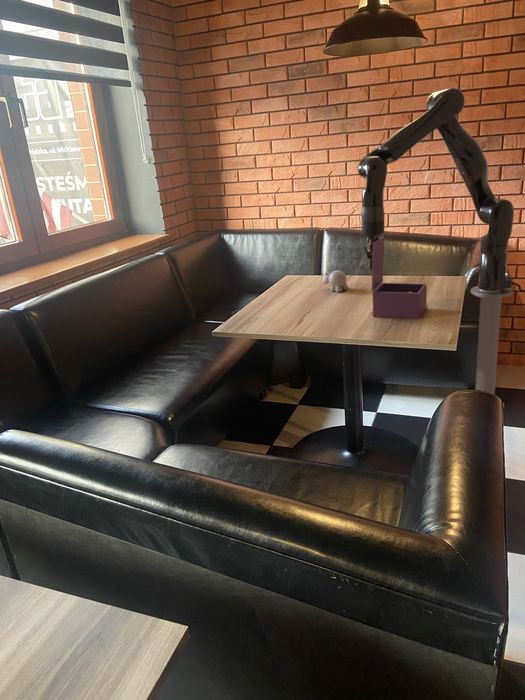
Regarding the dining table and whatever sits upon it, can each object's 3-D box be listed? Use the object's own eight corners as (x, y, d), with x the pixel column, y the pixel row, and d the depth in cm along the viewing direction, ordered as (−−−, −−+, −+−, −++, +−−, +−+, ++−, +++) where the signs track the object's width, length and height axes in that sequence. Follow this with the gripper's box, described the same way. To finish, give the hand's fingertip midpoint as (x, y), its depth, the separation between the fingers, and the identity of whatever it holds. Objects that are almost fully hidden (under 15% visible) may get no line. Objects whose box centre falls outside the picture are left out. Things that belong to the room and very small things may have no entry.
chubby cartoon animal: (330, 286, 229) (329, 266, 226) (350, 289, 220) (349, 269, 217) (318, 289, 225) (316, 270, 222) (338, 294, 216) (337, 273, 213)
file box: (426, 308, 188) (426, 283, 185) (419, 319, 178) (419, 293, 175) (382, 306, 195) (382, 282, 192) (373, 316, 185) (372, 292, 182)
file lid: (384, 235, 186) (382, 235, 186) (374, 242, 175) (372, 242, 176) (382, 281, 192) (381, 281, 192) (373, 291, 182) (371, 291, 182)
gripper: (378, 222, 172) (379, 274, 178) (388, 216, 183) (389, 265, 189) (356, 222, 176) (357, 274, 182) (367, 216, 186) (368, 265, 193)
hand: (373, 270), depth 185 cm, fingers closed
